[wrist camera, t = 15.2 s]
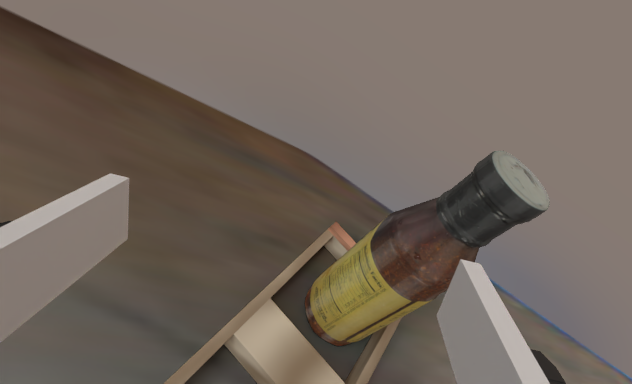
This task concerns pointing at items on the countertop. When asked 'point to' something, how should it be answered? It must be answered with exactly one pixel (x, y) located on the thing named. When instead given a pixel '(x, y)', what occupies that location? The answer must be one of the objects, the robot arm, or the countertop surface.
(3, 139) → the countertop surface
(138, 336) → the countertop surface
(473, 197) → the sauce bottle
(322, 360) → the bottle rack
